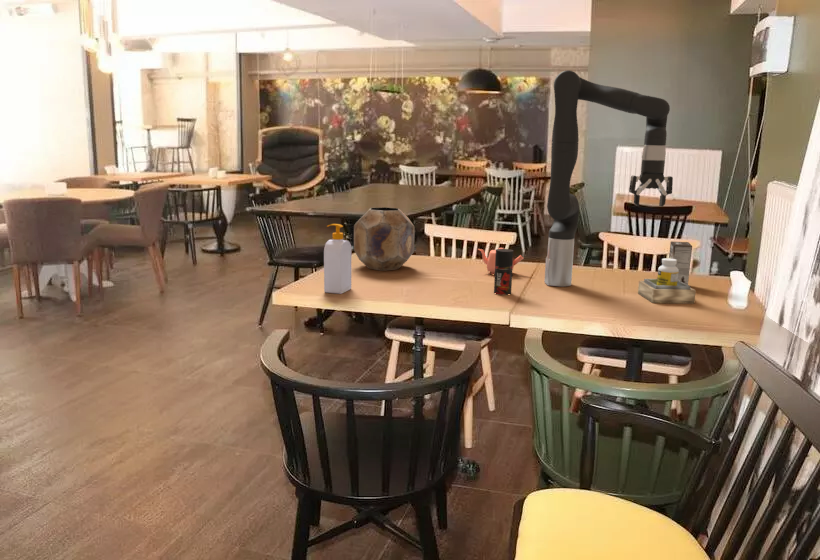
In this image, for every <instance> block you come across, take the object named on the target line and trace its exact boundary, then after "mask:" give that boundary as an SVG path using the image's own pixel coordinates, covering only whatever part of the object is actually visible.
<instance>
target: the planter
mask: <svg viewBox="0 0 820 560" xmlns="http://www.w3.org/2000/svg"><path fill="white" fill-rule="evenodd" d="M415 233H416V232H415V225H414V224H413V222H412V221H411V220H410V218H409V217H408V216H407V215H406V214H405V213H404V212H403V211H402V210H401V209H400V208H397V207H386V206H385V207H370V208H368V210H367V211H366V212H365V213H364V214H363V215H362V216H361V217H360V218H359V219H358V220H357V221H356V222H355V224H354V225H353V251H354V253H355V256H356V257H357V258H358V260H359V261H360V262H361V263H362V264H363V265H365V267H367V269H369V270H375V271H383V272H384V271H385V272H386V271H393V270H395V271H396V270H399V268H401V267H402V266H403V265H404V264H406V263H407V261H408V260H410V257H411V256H412V255H413V254H414V253H415Z"/></svg>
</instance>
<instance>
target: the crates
mask: <svg viewBox="0 0 820 560" xmlns="http://www.w3.org/2000/svg"><path fill="white" fill-rule="evenodd" d="M637 288H638V289H637V294H638V295H639V296H641V297H643V298H644V299H646V300H647V301H648V302H650V303H652V304H691V305H692V304H695V302H696V301H695V300H696V292H697V290H696V289H695V288H692V287H691V285H689V284H688V285H687V284H685V283H683V282H681V281H679V280H678V281H677V286H658V285H657V278H644V279H643V280H639V281H638V287H637Z"/></svg>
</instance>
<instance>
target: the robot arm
mask: <svg viewBox="0 0 820 560" xmlns="http://www.w3.org/2000/svg"><path fill="white" fill-rule="evenodd" d="M553 92H554V120H553V126H552V136H551V149H550V150H551V154H550V157H551V158H550V159H551V160H550V181H549V188H548V189H549V191H548V197H547V202H546V203H547V204H546V209H547V213H548V215H549V216H550V217H551V218H552V219H553V222H552V226H551V228H549V231H548V242H547V243H548V244H547V256H545V266H544V267H545V269H544V283H545V284H546V285H547V286H553V287H570V286H572V279H573V264H574V263H573V262H574V250H575V249H574V248H575V247H574V246H575V238H576V237H575V235H576V232H577V230H578V223H579V215H580V214H579V213H580V204H579V200H578V198H577V197H576V195H574V194H572V193H570V192H571V191H570V189H571V179H572V175H573V172H574V169H575V167H576V163H577V160H578V155H579V140H580V139H579V124H578V123H579V122H578V117H577V116H578V115H577V114H578V102H579V101H580V100H581V101H585V102H586V101H587V102H591V103H596V104H598V105H601V106H604V107H608V108H611V109H614V110H617V111H620V112H625V113H628V114H632V115H635V114H636V115H639V116H642V117H646V118H645V119H646V121H645V133H644V140H643V141H644V142H643V150H642V155H641V165H640V174H639V175H638V176H637V175H633V174H632V175H631V177H630V182H629V189H628V193H631V194H633V204H634V206H635V207H639V206H640V199H641V198H640V197H641V196H640V195H641V193H642V192H643V191H644V190H645V189H649V190H650V189H653V190H655V189H656V190H658V192H659V193H660V196H659V203H658V206H659V207H664V206H665V205H666V200H667V195H671V194H673V181H674V179H673V176H670V175H668V176H664V173H665V163H666V154H667V153H666V151H667V148H666V145H667V136H668V135H667V123H668V115H669V113H670V109H671V108H670V104H669V102H668V101H667V100H666V99H664V98H662V97H661V98H660V97H657V96H651V95H646V94H641V93H639V92H635V91H631V90H628V89H624V88H620V87H615V86H608V85H603V84H598V83H595V82H592V81H589V80H586V79H584V78H582V77H580V76H579V75H578V74H577V73H576V72H575V71H572V70H571V69H570V70H566V69H565V70H563V71H561V72H560V73H558V75H556V77H555V79H554V81H553ZM638 181H640V184H639V185H638V186H637V188H636V185H637V182H638ZM663 182H665V184H666V186H665V187H666V188H665V187H664V186H663V185H662V183H663Z"/></svg>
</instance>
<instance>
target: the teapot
mask: <svg viewBox="0 0 820 560" xmlns="http://www.w3.org/2000/svg"><path fill="white" fill-rule="evenodd" d="M497 249H505V248H504V247H498V248H497ZM477 250H478V251H479V252H481V256H482V257H481V258H482V261H483V264H485V265H486V270H487V272H491V273H490V275H491V274H495V258H496V249H491V250H490V251H489V254H488V257H487V255H486V253H485V250H484V249H482V248H477ZM522 260H524V257H523V256H522V254H520V255H518V257H516V258H514V259H513V267H512V271H513V270H514V267H515V266H516V265H517V264H518V263H520V262H521V261H522Z"/></svg>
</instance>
